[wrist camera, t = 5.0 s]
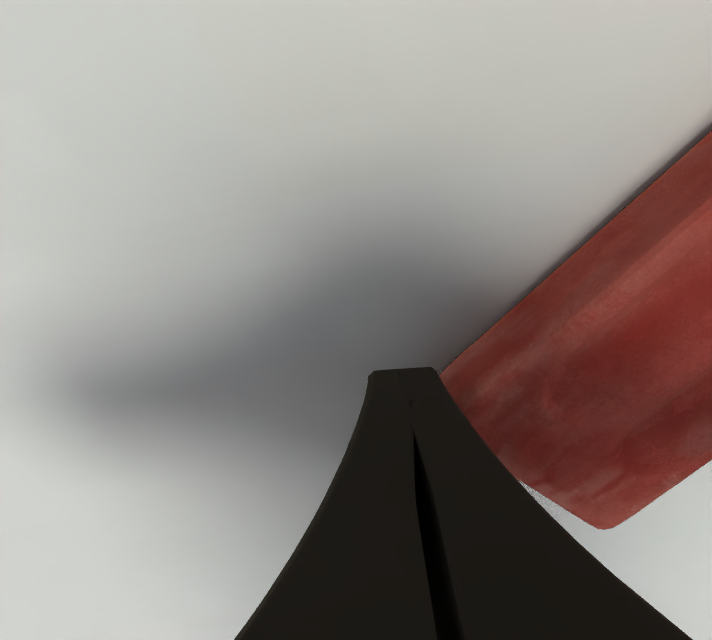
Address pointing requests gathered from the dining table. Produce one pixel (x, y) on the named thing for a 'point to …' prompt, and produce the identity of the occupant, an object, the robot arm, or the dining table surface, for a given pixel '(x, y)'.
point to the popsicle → (607, 359)
